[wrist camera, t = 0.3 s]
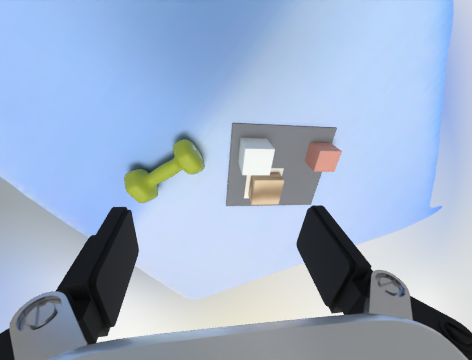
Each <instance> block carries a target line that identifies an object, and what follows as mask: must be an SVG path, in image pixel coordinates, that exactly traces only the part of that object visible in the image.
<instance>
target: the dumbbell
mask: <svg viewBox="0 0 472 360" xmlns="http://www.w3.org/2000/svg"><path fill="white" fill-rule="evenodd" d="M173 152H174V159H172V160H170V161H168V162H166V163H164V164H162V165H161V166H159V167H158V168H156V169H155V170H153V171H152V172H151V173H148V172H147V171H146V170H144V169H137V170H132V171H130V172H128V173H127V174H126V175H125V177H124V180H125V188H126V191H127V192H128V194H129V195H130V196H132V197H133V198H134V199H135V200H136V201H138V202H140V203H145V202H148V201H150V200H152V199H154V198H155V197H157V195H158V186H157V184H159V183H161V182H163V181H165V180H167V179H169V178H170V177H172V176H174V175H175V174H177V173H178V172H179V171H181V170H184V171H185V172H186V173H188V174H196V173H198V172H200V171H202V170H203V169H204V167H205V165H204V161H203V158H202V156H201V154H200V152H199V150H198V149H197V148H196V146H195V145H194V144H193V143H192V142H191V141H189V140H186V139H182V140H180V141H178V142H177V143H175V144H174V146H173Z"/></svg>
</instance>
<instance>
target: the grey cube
mask: <svg viewBox="0 0 472 360" xmlns="http://www.w3.org/2000/svg"><path fill="white" fill-rule="evenodd" d="M274 152H275V149H274V147H273V146H272V145H271V143H270V142H269V141H268V139H265V138H241V139H240V149H239V159H238V163H239V166H240V170H241V173H242V175H270V172H271V167H272V162H273V157H274Z"/></svg>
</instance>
